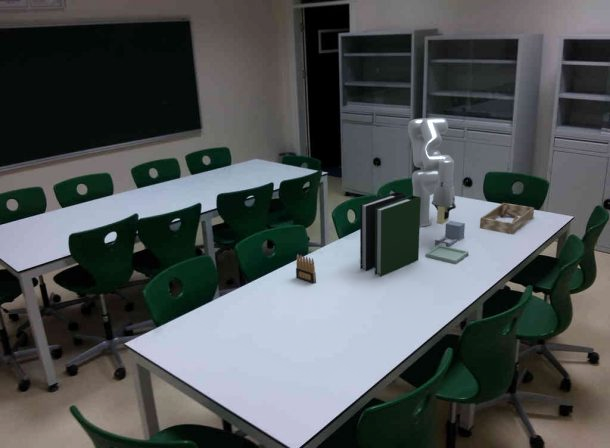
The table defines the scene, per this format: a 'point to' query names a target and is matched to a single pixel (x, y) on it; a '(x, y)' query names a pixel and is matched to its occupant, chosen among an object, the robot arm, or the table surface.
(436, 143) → the robot arm
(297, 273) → the ammunition clip
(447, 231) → the dispenser
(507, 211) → the toilet paper hanger
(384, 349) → the table surface
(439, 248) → the tray
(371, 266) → the pair of upright books
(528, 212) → the frame
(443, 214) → the block
